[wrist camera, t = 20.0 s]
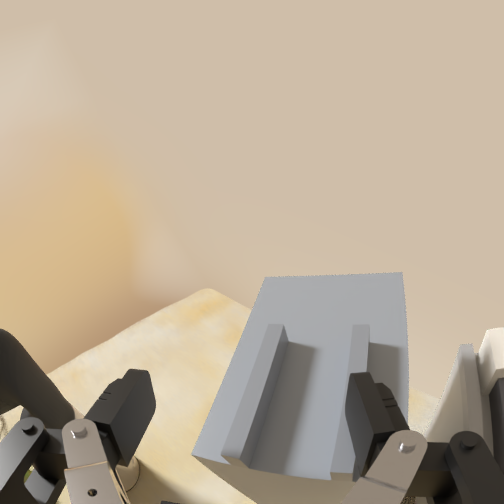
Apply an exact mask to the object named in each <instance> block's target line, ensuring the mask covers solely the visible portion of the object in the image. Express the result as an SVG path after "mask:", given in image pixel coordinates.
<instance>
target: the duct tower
mask: <svg viewBox="0 0 504 504" xmlns="http://www.w3.org/2000/svg"><path fill="white" fill-rule="evenodd" d="M408 366H409V364H408V335H407V318H406V305H405V294H404V284H403V275H402V272H398V273H378V274H377V273H376V274H351V275H324V276H289V277H288V276H287V277H265V279H264V282H263V284H262V287H261V289H260V292H259V294H258V297H257V299H256V302H255V304H254V306H253V309H252V311H251V314H250V316H249V319H248V321H247V324H246V326H245V329H244V331H243V333H242V336H241V338H240V341H239V343H238V346H237V348H236V350H235V353H234V355H233V358H232V360H231V362H230V365H229V367H228V370H227V372H226V374H225V377H224V379H223V381H222V384H221V386H220V389H219V391H218V393H217V396H216V398H215V400H214V403H213V405H212V407H211V410H210V412H209V414H208V417H207V419H206V421H205V424H204V426H203V428H202V431H201V433H200V435H199V438H198V440H197V442H196V444H195V447H194V449H193V451H192V454H191V455H192V456H194V457H195V458H196V459H197V460H198V461H200V462H201V463H202V464H203V465H205V466H206V467H207V468H209V469H210V470H211V471H212V472H214V473H215V474H216V475H218V476H219V477H220V478H222V479H223V480H224V481H226V482H227V483H228V484H230V485H231V486H233V487H234V488H235V489H237V490H238V491H240V492H241V493H243V494H244V495H245V496H247V497H248V498H250V499H251V500H253V501H254V502H256V503H257V504H340V503H341V502H342V501H343V500H344V498H345V497H346V496H347V494H348V493H349V492H350V490H351V489H352V488H353V486H354V485H355V483H356V482H357V481H358V479H359V478H360V473H359V469H358V465H357V460H356V456H355V452H354V448H353V444H352V440H351V436H350V432H349V428H348V425H347V421H346V417H345V401H346V395H347V388H348V382H349V376H350V374H351V373H358V372H370V374H371V376H372V378H373V380H374V383H381V382H382V383H383V384H385V385H386V386H387V387H388V388H390V389H391V391H392V393H393V395H394V397H395V399H396V401H397V403H398V406H399V408H400V410H401V412H402V414H403V416H404V418H405V420H406V422H407V424H408V398H409V371H408V370H409V367H408Z"/></svg>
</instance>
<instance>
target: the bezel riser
mask: <svg viewBox="0 0 504 504" xmlns="http://www.w3.org/2000/svg"><path fill="white" fill-rule="evenodd" d="M477 355H478V353H474V350H473V345H472V344H462V345H460V347H459V351H458V353H457V356H456V359H455V362H454V365H453V368H452V371H451V373H450V376H449V379H448V381H447V384H446V387H445V389H444V391H443V394H442V396H441V398H440V401H439V403H438V405H437V408H436V410H435V412H434V414H433V417H432V419H431V421H430V423H429V425H428V427H427V429H426V431H425V433H424V437H425V439H426V440H427V442H446V443H449V442H450V439H451V438H452V436H453V435H455V434H456V433H458V432H461V431H472V432H475V433H477V434H479V435H480V436H481V437H482V438H483V439H484V441H485V442H486V444H487V446H488V448H489V450H490V451H491V453H492V455H493V457H494V454H493V434H492V421H491V411H490V402H489V395H485V396H482V395H481V387H480V380H479V373H478V367H477V361H476V357H477ZM414 504H427V500H426V497H415V503H414Z"/></svg>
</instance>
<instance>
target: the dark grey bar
mask: <svg viewBox="0 0 504 504" xmlns="http://www.w3.org/2000/svg"><path fill="white" fill-rule="evenodd" d="M476 361H477V367H478V373H479V380H480V387H481V395H482V396H485V395H489V402H490V411H491V421H492V434H493V454H494V459H495V460H496V462H497V464H498V466H499V468H500V470H501V472H502V474H503V475H504V327H503V328H495V329H487V331H486V334H485V337H484V339H483V342H482V345H481V347H480V350H479V352H478V355H477V357H476Z"/></svg>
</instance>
